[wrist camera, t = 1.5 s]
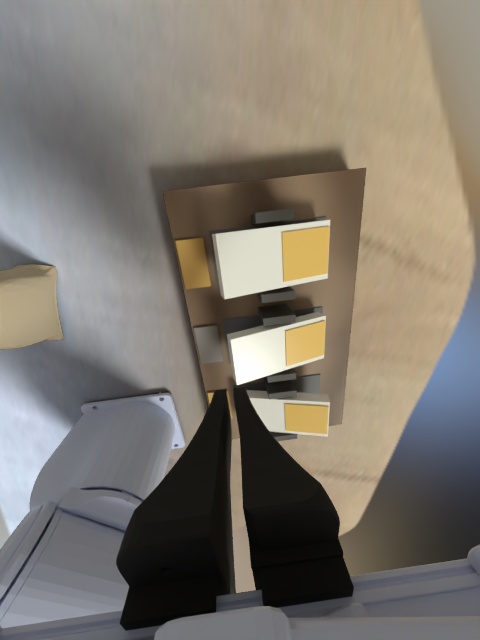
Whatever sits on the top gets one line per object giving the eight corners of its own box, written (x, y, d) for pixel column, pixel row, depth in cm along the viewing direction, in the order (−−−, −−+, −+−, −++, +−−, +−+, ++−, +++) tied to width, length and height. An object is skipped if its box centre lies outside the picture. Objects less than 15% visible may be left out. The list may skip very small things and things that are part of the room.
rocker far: (243, 420, 23) (241, 429, 22) (238, 389, 21) (236, 398, 20) (326, 427, 21) (327, 437, 20) (328, 394, 19) (330, 403, 18)
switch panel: (216, 426, 26) (215, 464, 22) (169, 195, 17) (150, 183, 12) (333, 410, 26) (354, 445, 22) (350, 174, 17) (392, 156, 13)
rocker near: (221, 295, 15) (225, 299, 14) (211, 234, 14) (215, 234, 13) (319, 276, 17) (328, 278, 16) (320, 220, 16) (331, 219, 15)
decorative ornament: (15, 332, 20) (-52, 366, 15) (0, 237, 17) (-91, 240, 12) (64, 339, 21) (14, 374, 16) (57, 249, 18) (-8, 257, 13)
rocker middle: (233, 377, 18) (237, 386, 17) (226, 334, 16) (231, 340, 15) (316, 352, 20) (324, 358, 19) (318, 311, 18) (326, 315, 17)
